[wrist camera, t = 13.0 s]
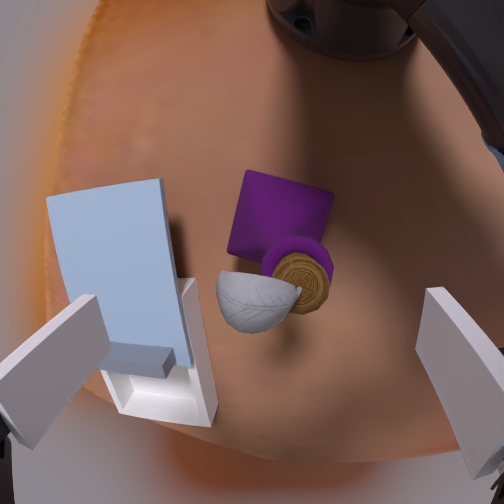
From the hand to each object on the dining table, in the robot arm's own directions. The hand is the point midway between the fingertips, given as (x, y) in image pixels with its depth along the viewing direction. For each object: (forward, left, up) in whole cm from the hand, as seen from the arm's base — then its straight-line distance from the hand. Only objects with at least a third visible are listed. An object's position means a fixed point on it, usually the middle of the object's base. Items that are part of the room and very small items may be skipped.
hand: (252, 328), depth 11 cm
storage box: (+15, -15, -19) cm, 29 cm away
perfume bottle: (0, 0, -19) cm, 19 cm away
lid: (+4, -15, -14) cm, 21 cm away
